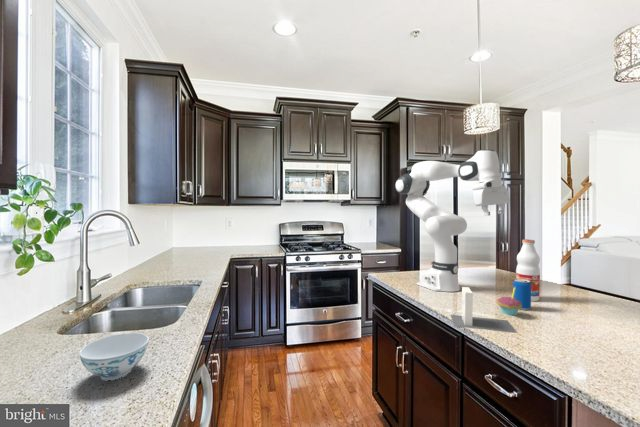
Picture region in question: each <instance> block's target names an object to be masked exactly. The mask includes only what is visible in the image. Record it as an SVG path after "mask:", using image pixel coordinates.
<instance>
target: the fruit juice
mask: <svg viewBox="0 0 640 427" xmlns="http://www.w3.org/2000/svg"><path fill="white" fill-rule="evenodd" d="M521 242H522V246H521V248H520V251H519V252H518V253H517V255H516V262H517V265H516V269H515V279H525V280H529V281H530V283H531V302H538V301H540V290H541V289H540V287H541V270H540V267H539V266H540V262H541V259H540V258H541V257H540V255H539V254H538V253H537V251H536V248H535V244H536V240H535V239H527V238H526V239H525V238H524V239H522V241H521Z"/></svg>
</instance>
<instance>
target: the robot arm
mask: <svg viewBox="0 0 640 427" xmlns="http://www.w3.org/2000/svg"><path fill="white" fill-rule="evenodd" d="M500 167H501V166H500V161H499V157H498V153H497V150H495V149H480V150H477V152H475V153H474V155H473V156H471V157H470V159H468V160H466V161H463V162H461V164H457V163H450V162H449V163H448V162H443V161H438V160H425V161H424V160H423V161H420V162H419V161H418V162H416V163H414V164H413V165H412V167H411V172H410V173H405V174H403V175H402V176H399V177H398V178H397V179H396V180H395V184H394V187H395V191H396V192H397V193H398V194H399V195H407V197H406V198H405V205H406V206H407V208H408V209H409V211H411V212H412V213H413V214H414V215H415V216H417V217H418V219H420V220H422V222H424V229H425V231H426V233H427V234H428V235H429V236H430V237H431V239H432V243H433V246H434V260H433V261H431V262H430V265H431V267H430V268H429V269H427V270H426V271H424V272H422V275H421V279H420V280H419V281H417V282H416V285H418V286H420V287H422V288H425V289H428V290H431V291H434V292H458V291H460V290H461V286H460V283H459V276H458V275H459V274H458V272H459V263H458V247H457V245H455V244H454V242H453V240H452V236H459V235H461V234H463V233H465V231H466V230H467V228H468V224H467V223H468V222H467V221H466V219H465V218H464V217H463V216H460V215H457V214H455V213H453V212H450V211H448V210H446V209H444V208H442V207H440V206H438V205H436V204H435V203H433V202H432V201H431V200H429V199H428V198H426V197H425V195H426V194H427V193H428V191H429V189H430V185H431V184H430V182H435V181H440V180H446V179H451V178H458V177H459V178H460V179H461V180H462V181H466V182H474V181H475V182H476V181H477V182H476V183H475V184H473V185H472V186H471V188H472V191H473V193H472V196H473V197H472V198H473V201H474V205H475V207H481V210H482V211H483V212H484V216H485V217H488V216H491V211H489V206H492V205H494V206H495V205H497V207H498V210H497V215H504V209H505V204H510V195H509V191H508V188H507V186H505V185H504V184H503V183H502V176H501V173H500Z"/></svg>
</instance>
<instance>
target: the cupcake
mask: <svg viewBox="0 0 640 427" xmlns="http://www.w3.org/2000/svg"><path fill="white" fill-rule="evenodd" d="M515 287H516V286H515ZM515 289H516V288H514V289H513V288H512V293H511V296H502V297H500V298H498V299H497V301H496V304H497V305H498V306H499V307H500V310H501V313H502V314H503V315H507V316H517V314H518V312H519V310H521V309H520V308H521V307H522V303H521V302H520V301H519V300H517V299H515V298H514V294H515Z"/></svg>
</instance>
